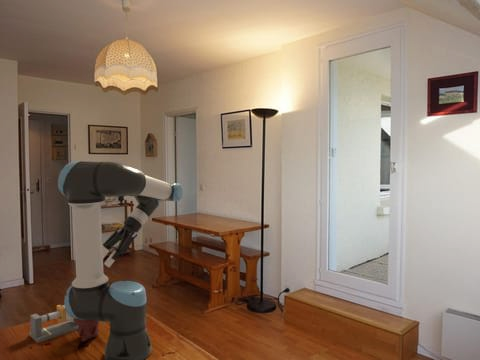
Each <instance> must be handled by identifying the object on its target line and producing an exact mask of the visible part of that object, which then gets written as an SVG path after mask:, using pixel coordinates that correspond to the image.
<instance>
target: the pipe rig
mask: <svg viewBox="0 0 480 360" xmlns="http://www.w3.org/2000/svg"><path fill="white" fill-rule="evenodd" d="M59 317H61V311H57V310H56V311H54V312H49V313H45V314H44V315H43V314H42V315H39V314H38V313H34V314H30V331H29V337H30V338H31V339H32V340H34V342H35V343H41V342H45V341H48V340H50V339H53V338H57V337H60V336H63V335H65V334H69V333H71V332H74V331H77V330H78V329H79V328H78V325H77V324H75V323H73V322H72V321H70V320H69V319H68V320H66V322H63V323H62V322H59V323H56V324H53V325H50V326H46V327H42V323H45V322H50V321H52V320H55V319H56V320H57V318H59Z"/></svg>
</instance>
